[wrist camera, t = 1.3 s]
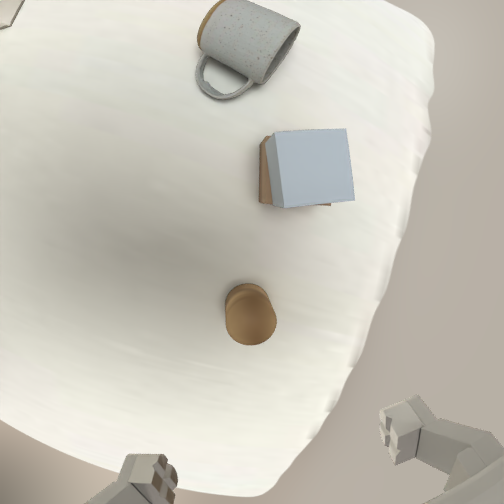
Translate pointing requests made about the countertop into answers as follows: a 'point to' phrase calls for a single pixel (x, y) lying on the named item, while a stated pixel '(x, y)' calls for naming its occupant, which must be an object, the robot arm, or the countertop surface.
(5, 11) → the skyscraper
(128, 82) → the countertop surface
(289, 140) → the slate upper block
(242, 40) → the ceramic mug
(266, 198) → the walnut base block
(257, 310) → the oak cylinder
